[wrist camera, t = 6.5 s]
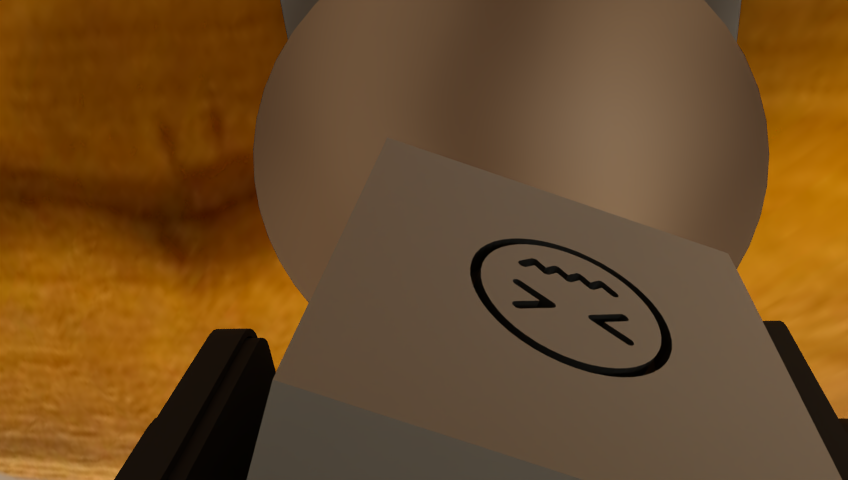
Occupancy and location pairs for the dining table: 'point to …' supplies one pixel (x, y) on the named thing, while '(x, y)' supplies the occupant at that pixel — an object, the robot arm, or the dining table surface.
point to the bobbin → (514, 111)
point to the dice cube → (526, 347)
